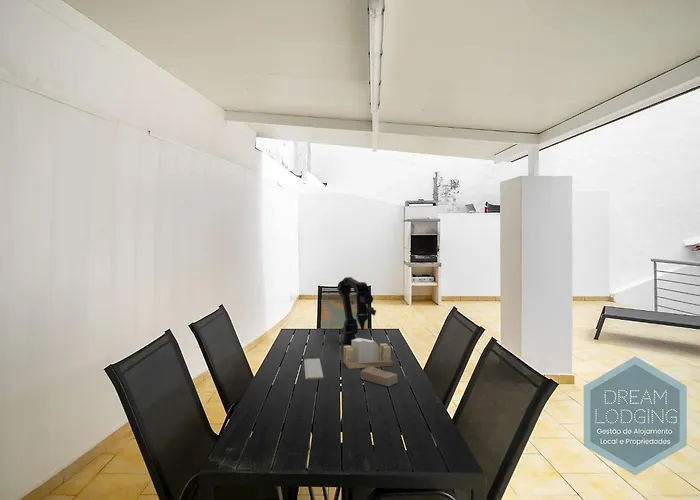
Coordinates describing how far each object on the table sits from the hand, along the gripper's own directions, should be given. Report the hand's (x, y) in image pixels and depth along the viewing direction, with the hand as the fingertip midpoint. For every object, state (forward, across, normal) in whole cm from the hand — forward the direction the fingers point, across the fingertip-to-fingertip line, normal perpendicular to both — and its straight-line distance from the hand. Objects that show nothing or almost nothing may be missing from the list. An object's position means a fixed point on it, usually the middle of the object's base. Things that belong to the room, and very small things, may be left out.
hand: (362, 330), depth 254 cm
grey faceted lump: (+15, -19, 0) cm, 24 cm away
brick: (+19, -49, -4) cm, 52 cm away
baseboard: (+16, -31, +29) cm, 45 cm away
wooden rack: (+15, -24, -1) cm, 28 cm away
